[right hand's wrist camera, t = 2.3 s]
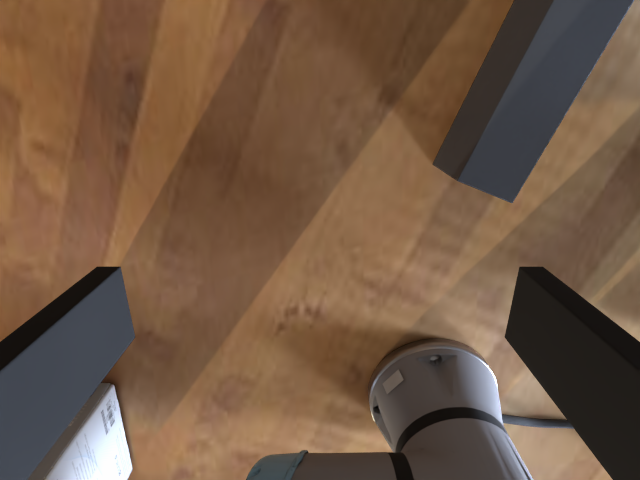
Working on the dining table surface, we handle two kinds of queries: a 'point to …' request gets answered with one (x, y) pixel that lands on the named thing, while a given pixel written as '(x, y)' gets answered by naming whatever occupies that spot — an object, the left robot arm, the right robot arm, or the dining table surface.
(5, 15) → the dining table surface
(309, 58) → the dining table surface
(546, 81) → the post
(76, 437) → the hard drive box
